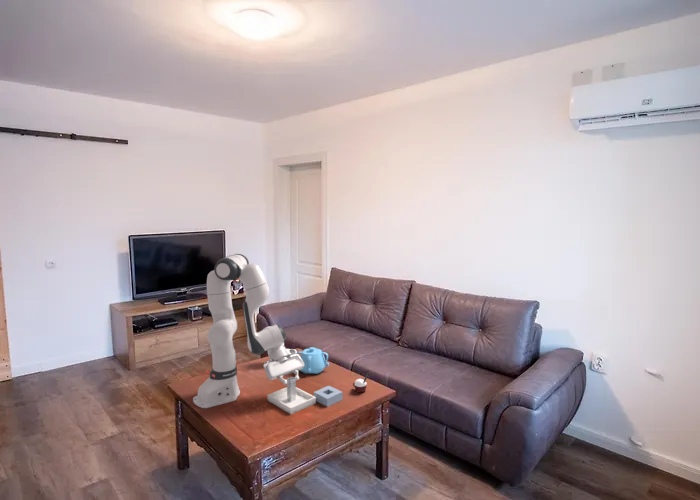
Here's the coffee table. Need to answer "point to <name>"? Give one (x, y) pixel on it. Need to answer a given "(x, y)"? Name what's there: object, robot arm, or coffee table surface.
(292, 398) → the pin
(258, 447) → the coffee table surface
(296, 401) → the tray
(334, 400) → the socket block
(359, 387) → the cocoa
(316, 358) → the decorative pot
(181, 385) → the coffee table surface
